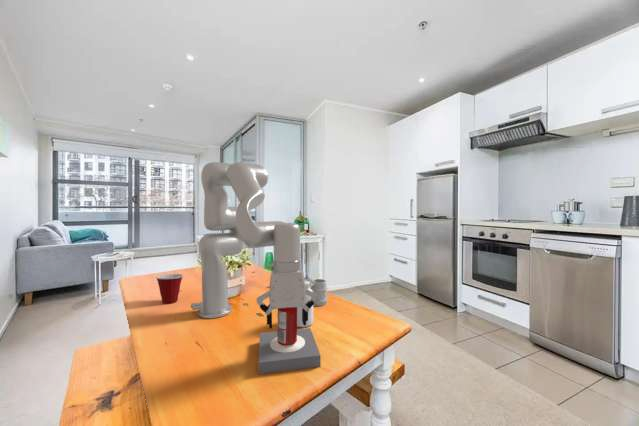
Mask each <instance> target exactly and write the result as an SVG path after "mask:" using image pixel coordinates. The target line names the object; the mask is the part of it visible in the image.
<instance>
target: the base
mask: <svg viewBox="0 0 639 426" xmlns="http://www.w3.org/2000/svg"><path fill="white" fill-rule="evenodd" d="M258 347H259V348H258V375H263V374H262V373H266V374H272V373H271V372H273V373H280V372H279V371H281V372H286V371H285V370H289V371H296V370H304V369H311V368H318V367H321V366H322V365H321V364H322V363H321V362H322V361H321V360H322V359H321V353H320V351H319V348H318V345H317V341H316V339H315V337H314V334H313V331H312V329H311V327H308V328H307V327H305V328H300V329H299V328H297V342H296V343H295V344H294V345H292V346H288V347H285V346H281V345H280V344H279V343H278V330H277V331H267V332H259V346H258Z"/></svg>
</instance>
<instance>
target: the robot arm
mask: <svg viewBox="0 0 639 426" xmlns="http://www.w3.org/2000/svg"><path fill="white" fill-rule="evenodd" d="M200 175H201V176H200V178H201V179H200V181H201V185H202V189H203V194H204V199H203V200H204V201H203V205H204V208H203V225H204V228H205V229H206V230H208V231H212V232H215V231H216V232H218V231H228V232H220V233H219V232H218V233H209V234H206V235H203V236H201V238H200V239H199V242H198V250H199V254H200V262H201V289H202V290H201V292H202V293H201V296H202V297H201V298H202V300H201V301H199V302H192V303H191V304H190V309H192V311H195V310H198V312H197V313H198V315H197V316H199V317H200V318H203V319H217V318H220V317H224V316H227V315H229V314H230V313H231V312H232V310H233V307H232V305H230V304H229V300H228V299H229V297H228V295H229V293H228V292H229V291H228V288H229V285H228V284H229V283H228V282H229V281H228V267H227V264H226V262H225V261H224V260H223V259H222V258H223V257H229V256H234V255H235V256H236V255H239V254H241V253H242V251H243V249H244V248H245V247H244V246H245V245H246V247H247V246H248V247H247V248H250V249H257V248H259V249H260V248H265V247H273V261H271V262H268V268H271V269H273V270H272V271H271V273H270V278H269V290H268V291H266V292H265V293H263V294H261V295H260V296H258V297H256V300H255V301H256V303H257V305H258V306H259V309H261V311H263V312H264V313H265V315H266V325H268V326H269V327H268V328H269V330H271V329H273V314H272V313H273V310H274V309H275V310H278V309H282V308H295V307H302V308H303V309H302V322H303V325H304V326H305V325H306V321H308V311H309V309H310V308H311V307H312V306H313V307H314V302H315V300H316V298H317V294H316V293H314V292H311V291H309V290H307V289H305V281H306V280H305V274H304V270H303V269H301V228H300V225H299V224H298V223H296V222H284V221H279V220H273V221H271V220H270V221H269V220H268V221H254V219H253V218H252V216H251V214H250V211H251V210H253V209H256V208H258V207H259V206H261V204H263V202H264V200H265V196H266V195H265V192H264V190H263V189H262V188H264V187H265V186H267V184H268V181H269V173H268V172H267V170H266V168H265V167H264V166H263V165H260V164H257V163H249V162H248V163H247V162H234V163H229V162H217V161H214V162H213V161H212V162H208V163H206V164H205V165H204V166H203V167H202V170H201V173H200ZM223 186H226V187H227V186H228V187H231V188H232V190H233V192H234V194H235V197H236V198H237V201H238V202H239V204H238V206H228V200H229V198H228V197H229V195H228V192H227V191H226V190H225V188H224V187H223ZM306 295H308V296H310V297H311V299H310V300H309V301H308V302H307V303H306ZM268 298H269V299H268ZM266 299H268V300H269V301H268V302H269V304H268V305H266V304H265V303H264V301H265V300H266Z"/></svg>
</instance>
